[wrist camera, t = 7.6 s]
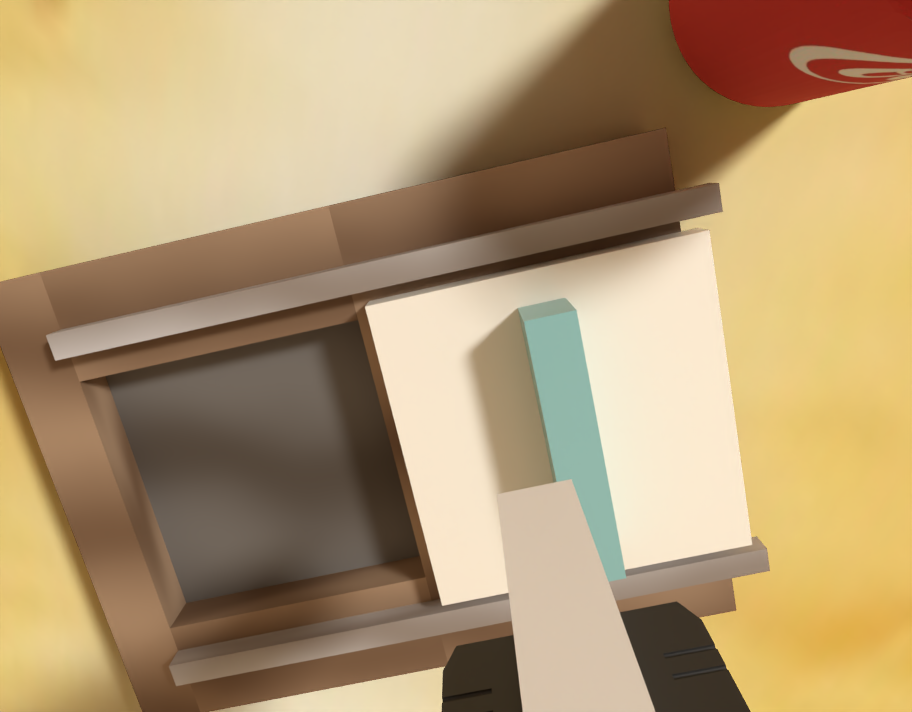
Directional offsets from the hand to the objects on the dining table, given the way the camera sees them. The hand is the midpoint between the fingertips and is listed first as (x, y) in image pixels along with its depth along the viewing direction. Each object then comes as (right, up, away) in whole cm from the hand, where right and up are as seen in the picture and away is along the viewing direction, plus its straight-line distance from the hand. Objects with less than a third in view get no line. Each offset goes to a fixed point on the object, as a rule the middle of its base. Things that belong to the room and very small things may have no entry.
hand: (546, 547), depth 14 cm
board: (-4, +1, +11) cm, 11 cm away
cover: (+1, +2, +8) cm, 9 cm away
